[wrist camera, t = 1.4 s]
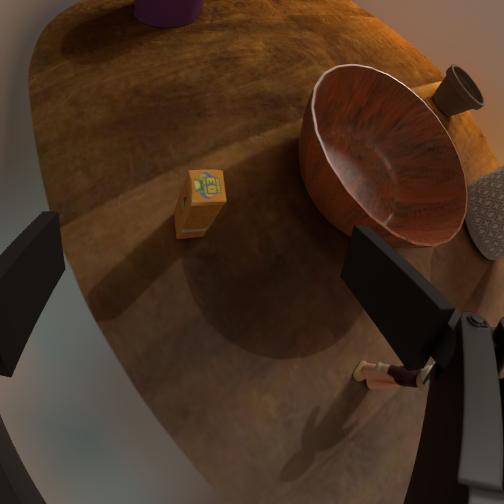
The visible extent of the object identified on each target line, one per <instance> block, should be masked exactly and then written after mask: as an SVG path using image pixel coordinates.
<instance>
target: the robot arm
mask: <svg viewBox="0 0 504 504" xmlns="http://www.w3.org/2000/svg"><path fill="white" fill-rule="evenodd" d="M64 271H65V263H64V256H63V249H62V241H61V233H60V224H59V214H58V212H42V213H41V214H40V215H39V216H38V217H37V218H36V219H35V220H34V221H33V222H32V223H31V224H30V225H29V226H28V227H27V228H26V229H25V230H24V231H23V232H22V233H21V234H20V235H19V236H18V237H17V238H16V239H15V240H14V241H13V242H12V243H11V244H10V245H9V247H7V249H6V250H5V251H4V252H3V253H2V254H1V255H0V375H2V376H6V377H12V374H13V372H14V370H15V368H16V365H17V363H18V361H19V358H20V356H21V354H22V352H23V349H24V347H25V345H26V343H27V341H28V338H29V337H30V334H31V332H32V330H33V328H34V326H35V324H36V322H37V320H38V318H39V316H40V314H41V312H42V310H43V309H44V307H45V305H46V303H47V301H48V299H49V297H50V295H51V294H52V291H53V289H54V288H55V286H56V285H57V283H58V281H59V279H60V277H61V276H62V274H63V272H64ZM340 277H341V278H342V280H343V281H344V282H345V284H346V285H347V286H348V288H349V289H350V290H351V292H352V293H353V294H354V296H355V297H356V299H357V300H358V301H359V303H360V304H361V305H362V307H363V308H364V309H365V311H366V312H367V314H368V315H369V316H370V318H371V319H372V320H373V322H374V323H375V325H376V326H377V327H378V329H379V330H380V332H381V333H382V334H383V336H384V337H385V339H386V340H387V342H388V343H389V344H390V346H391V347H392V349H393V350H394V352H395V353H396V354H397V356H398V357H399V359H400V360H401V362H402V363H403V365H404V366H405V368H406V369H407V371H408V372H409V371H414V370H418V369H422V368H424V366H425V365H426V363H427V361H428V359H429V358H430V356H431V357H432V358H433V359H434V360H435V363H434V365H433V366H432V368H431V370H430V371H429V373H428V374H427V376H426V378H425V379H424V381H423V383H422V384H423V385H425V383H426V382H427V381H428V380H430V382H429V385H428V386H429V389H428V397H427V403H426V410H425V416H424V421H423V427H422V432H421V437H420V442H419V447H418V451H417V456H416V460H415V464H414V468H413V472H412V476H411V480H410V483H409V487H408V490H407V494H406V497H405V500H404V504H504V377H503V378H502V377H501V375H500V373H501V372H502V370H503V369H504V317H503V318H501V319H500V321H499V323H498V325H497V327H490V326H489V324H488V323H487V321H486V320H485V319H484V318H482V317H481V316H480V315H478V314H476V313H473V312H469V311H467V312H463V313H461V312H460V311H459V310H458V309H457V308H456V307H455V306H454V305H453V304H452V303H451V302H450V301H449V300H448V299H447V298H446V297H445V296H444V295H443V294H442V293H441V292H440V291H439V290H437V288H436V287H435V286H434V285H432V284H431V283H430V282H429V281H428V280H427V279H426V278H425V277H424V276H423V275H422V274H421V273H420V272H418V271H417V270H416V269H415V268H414V267H413V266H412V265H411V264H410V263H409V262H408V261H407V260H405V259H404V258H403V257H402V256H401V255H400V254H399V253H398V252H397V251H395V250H394V249H393V248H392V247H391V246H390V245H389V244H387V243H386V242H385V241H384V240H383V239H382V238H381V237H379V236H378V235H377V234H376V233H375V232H374V231H372V230H371V229H370V228H369V227H368V226H358V225H354V227H353V231H352V235H351V239H350V243H349V246H348V250H347V254H346V257H345V261H344V264H343V268H342V271H341V275H340ZM0 504H46V502H45V501H44V499H43V498H42V496H41V494H40V493H39V491H38V489H37V488H36V486H35V484H34V483H33V481H32V479H31V477H30V476H29V474H28V472H27V470H26V469H25V466H24V465H23V463H22V461H21V459H20V457H19V455H18V453H17V451H16V449H15V447H14V445H13V443H12V441H11V439H10V436H9V434H8V432H7V430H6V427H5V425H4V423H3V420H2V418H1V416H0Z"/></svg>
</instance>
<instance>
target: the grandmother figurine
mask: <svg viewBox="0 0 504 504" xmlns="http://www.w3.org/2000/svg"><path fill="white" fill-rule="evenodd" d="M434 363H435V362H434ZM434 363H432V365H431V366H427V367H426V368H424V369H423V370H419V369H418V370H414V371H409V372H408V371H407V369H406V368H405V366H400V367H397V366H394V365H388V364H383V363H381V362H379V363H377V364H370V363H367V362H366V361H361V362H360V363H359V365H358V366H357V368H356V369H355V370H354V373H353V377H354V379H355V380H357V381H363V380H364V379H366V382H367V386H368V387H369V388H370V389H389V388H397V387H402V386H409V387H418V388H419V389H420V390H421V391H424V392H428V389H429V386H428V385H429V382H430V380H428V381H427V382H426V383H425V385H423V384H422V383H423V381H424V379H425V378H426V376H427V374H428V373H429V371H430V370H431V368H432V366H433V365H434Z"/></svg>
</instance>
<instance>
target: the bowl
mask: <svg viewBox="0 0 504 504" xmlns="http://www.w3.org/2000/svg"><path fill="white" fill-rule="evenodd" d="M298 154H299V163H300V172H301V176H302V179H303V181H304V184H305V187H306V190H307V193H308V194H309V196H310V198H311V199H312V201H313V202H314V204H315V206H316V207H317V209H318V210H319V211H320V212H321V213H322V215H323V216H324V217H325V218H326V219H327V220H328V221H329V222H330V223H331V224H332V225H333V226H335V227H336V228H338V229H339V230H340V231H342V232H343V233H345V234H346V235H348V236H349V237H351V235H352V231H353V227H354V225H358V226H368V227H369V228H370V229H371V230H372V231H374V232H375V233H376V234H377V235H378V236H379V237H381V238H382V239H383V240H384V241H385V242H386V243H387V244H389V245H390V246H391V247H396V248H426V247H435V246H438V245H440V244H443V243H446V242H448V241H450V240H451V239H452V238H453V237H454V236H455V235H456V234H457V233H458V231H459V230H460V229H461V226H462V224H463V221H464V218H465V216H466V210H467V198H468V194H467V186H466V178H465V173H464V170H463V167H462V163H461V160H460V157H459V154H458V152H457V150H456V148H455V146H454V144H453V141H452V139H451V137H450V135H449V134H448V132H447V131H446V129H445V128H444V126H443V125H442V123H441V122H440V120H439V119H438V117H437V116H436V115H435V113H434V112H433V111H432V110H431V109H430V108H429V107H428V105H427V104H426V103H425V102H424V101H423V100H422V99H421V98H420V97H419V96H418V95H417V94H415V93H414V92H413V91H412V90H411V89H410V88H408V87H407V86H406V85H404V84H403V83H401V82H400V81H398V80H397V79H395V78H393V77H392V76H390V75H389V74H386V73H384V72H382V71H379V70H377V69H374V68H372V67H368V66H362V65H356V64H347V65H339V66H335V67H333V68H332V69H330V70H328V71H326V72H324V73H323V74H322V76H321V77H320V79H319V80H318V82H317V83H316V85H315V86H314V89H313V91H312V93H311V96H310V98H309V101H308V104H307V107H306V110H305V114H304V118H303V122H302V128H301V134H300V139H299V146H298Z"/></svg>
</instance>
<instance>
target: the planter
mask: <svg viewBox="0 0 504 504" xmlns="http://www.w3.org/2000/svg"><path fill="white" fill-rule="evenodd" d="M467 194H468V198H467V210H466V216H465V222H466V226H467V229H468V232H469V234H470V236H471V238H472V240H473V242H474V243H475V245H476V246H477V248H478V249H479V251H480V252H481V253H482V254H483V255H484V256H485V257H486V258H488V259H489V260H497V259H500V258H503V257H504V166H502V167H500V168H498V169H496V170H495V171H493V172H491V173H489V174H487V175H485V176H483V177H481V178H479V179H477V180H475V181H474V182H472V183H470V184H468V185H467Z"/></svg>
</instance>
